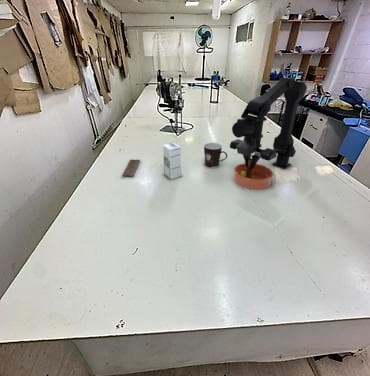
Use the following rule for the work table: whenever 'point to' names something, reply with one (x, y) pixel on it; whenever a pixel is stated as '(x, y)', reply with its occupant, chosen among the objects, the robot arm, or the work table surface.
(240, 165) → the bowl
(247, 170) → the stick
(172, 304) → the work table surface
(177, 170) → the syrup box
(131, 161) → the wooden plank
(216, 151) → the coffee mug
